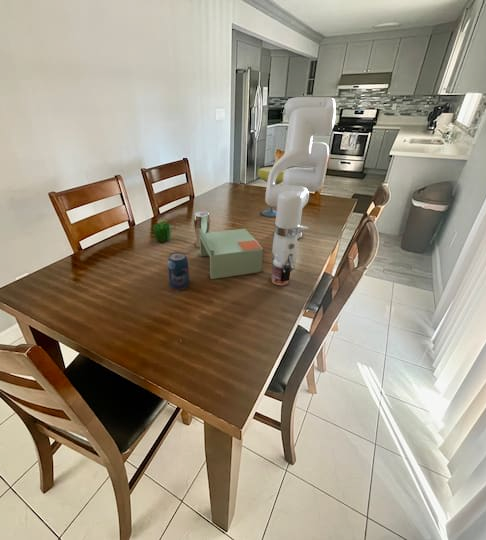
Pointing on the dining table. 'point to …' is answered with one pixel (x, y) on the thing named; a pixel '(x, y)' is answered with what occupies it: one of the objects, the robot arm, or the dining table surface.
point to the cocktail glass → (263, 174)
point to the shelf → (231, 252)
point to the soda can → (178, 270)
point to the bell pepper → (162, 231)
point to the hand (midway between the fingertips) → (280, 275)
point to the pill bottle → (277, 271)
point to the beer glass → (201, 224)
